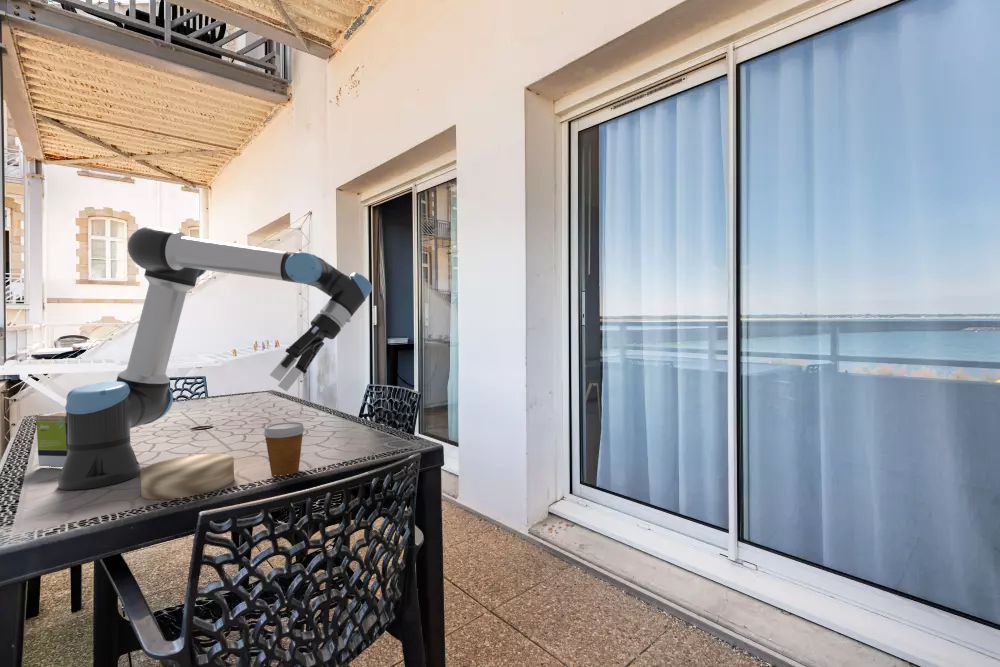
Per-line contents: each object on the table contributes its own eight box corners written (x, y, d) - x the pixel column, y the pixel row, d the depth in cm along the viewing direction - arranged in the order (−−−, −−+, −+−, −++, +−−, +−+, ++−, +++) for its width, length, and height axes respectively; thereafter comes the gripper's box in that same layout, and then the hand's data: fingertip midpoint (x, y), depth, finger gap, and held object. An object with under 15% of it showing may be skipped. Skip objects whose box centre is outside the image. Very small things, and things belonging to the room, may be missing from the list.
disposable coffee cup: (295, 478, 111) (293, 429, 111) (256, 479, 111) (255, 429, 111) (311, 466, 121) (310, 421, 121) (276, 467, 121) (275, 421, 121)
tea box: (94, 453, 138) (93, 404, 138) (123, 454, 136) (121, 405, 136) (36, 469, 123) (34, 414, 123) (67, 470, 121) (65, 414, 121)
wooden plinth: (119, 498, 100) (118, 475, 100) (186, 472, 118) (185, 453, 118) (194, 501, 97) (193, 477, 97) (250, 474, 115) (250, 454, 115)
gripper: (341, 313, 116) (284, 381, 108) (342, 341, 139) (296, 399, 130) (315, 296, 116) (257, 364, 107) (321, 327, 138) (273, 385, 130)
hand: (278, 383), depth 119 cm, fingers open, 13 cm apart
